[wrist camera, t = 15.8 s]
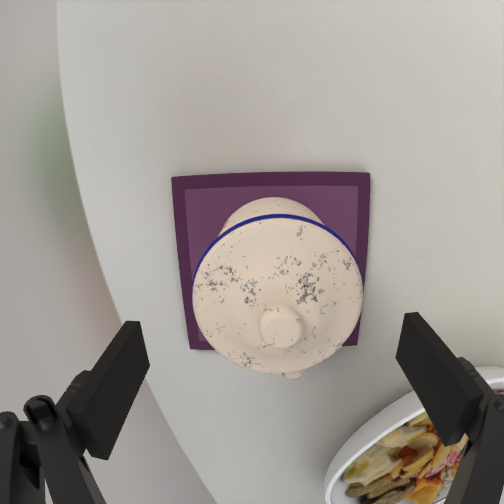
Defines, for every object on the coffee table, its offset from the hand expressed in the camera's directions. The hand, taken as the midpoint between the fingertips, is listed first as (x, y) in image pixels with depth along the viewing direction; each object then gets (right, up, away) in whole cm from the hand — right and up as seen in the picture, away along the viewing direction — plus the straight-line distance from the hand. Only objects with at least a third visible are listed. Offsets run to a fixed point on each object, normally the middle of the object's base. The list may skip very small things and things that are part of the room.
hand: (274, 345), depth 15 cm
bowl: (+23, -21, +18) cm, 36 cm away
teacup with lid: (+1, +3, +10) cm, 11 cm away
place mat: (+1, +3, +11) cm, 11 cm away
